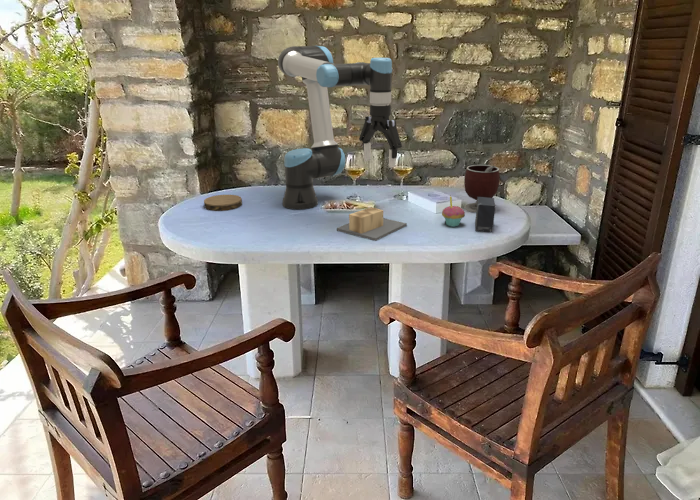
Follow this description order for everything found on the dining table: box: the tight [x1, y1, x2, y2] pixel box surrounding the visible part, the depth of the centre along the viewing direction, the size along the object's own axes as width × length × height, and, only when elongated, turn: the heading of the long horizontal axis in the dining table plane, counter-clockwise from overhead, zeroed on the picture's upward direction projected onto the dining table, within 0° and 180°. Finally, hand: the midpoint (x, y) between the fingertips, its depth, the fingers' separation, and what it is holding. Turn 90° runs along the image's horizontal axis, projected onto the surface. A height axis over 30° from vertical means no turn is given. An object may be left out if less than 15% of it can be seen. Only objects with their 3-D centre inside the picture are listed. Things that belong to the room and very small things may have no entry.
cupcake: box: [441, 194, 466, 227], centre depth 195 cm, size 9×8×12 cm
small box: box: [474, 197, 496, 233], centre depth 192 cm, size 11×6×10 cm, turn 168°
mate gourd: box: [463, 164, 501, 214], centre depth 211 cm, size 16×14×20 cm
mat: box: [336, 217, 408, 242], centre depth 194 cm, size 18×20×1 cm
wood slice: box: [203, 194, 243, 212], centre depth 223 cm, size 16×16×3 cm
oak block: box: [348, 206, 384, 234], centre depth 191 cm, size 6×6×12 cm
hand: (379, 163), depth 191 cm, fingers open, 13 cm apart
